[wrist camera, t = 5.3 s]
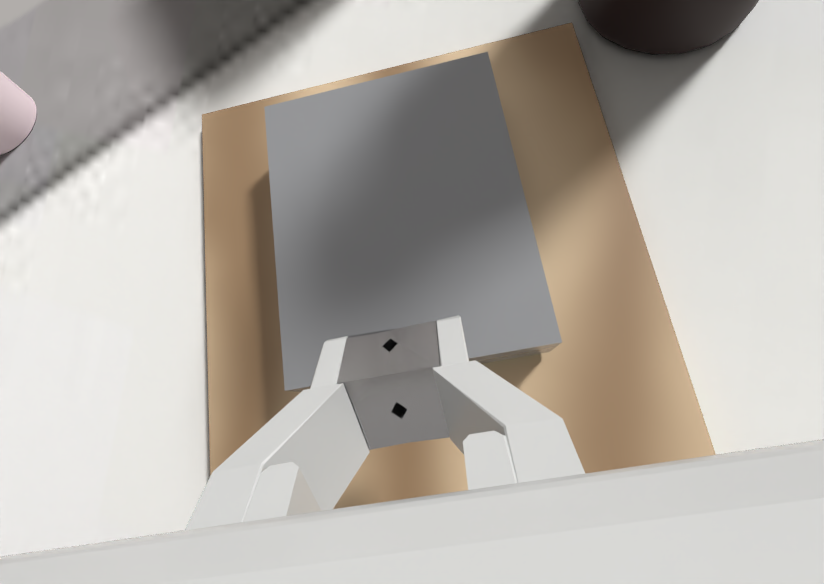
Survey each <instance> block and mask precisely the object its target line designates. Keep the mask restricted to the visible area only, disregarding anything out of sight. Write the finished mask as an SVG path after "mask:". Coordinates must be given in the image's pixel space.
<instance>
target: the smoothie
mask: <svg viewBox="0 0 824 584" xmlns="http://www.w3.org/2000/svg"><path fill="white" fill-rule="evenodd" d="M36 114H37V110H36V105H35V102H34V100H33V99H32V98H31V97H30V96H29V95H28V94H27V93H26V92H24V91H23V90H22V89H21V88H20V87H19V86H17V85H16V84H15V83H14V82H13V81H11V80H10V79H9V78H8V77H7V76H6V75H4V74H3V73H2V72H1V71H0V155H2V154H5V153H7V152H9V151H11V150H12V149H14V148H15V147H17V146H18V145H19V144H20V143H21V142H23V140H24V139H25V138H26V137H27V136H28V134H29V133H30V131H31V130H32V128H33V126H34V123H35V120H36Z"/></svg>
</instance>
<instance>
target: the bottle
mask: <svg viewBox="0 0 824 584" xmlns="http://www.w3.org/2000/svg"><path fill="white" fill-rule="evenodd" d="M758 1H759V0H579V4H580V6H581V8H582V10H583V13H584V15H585V17H586V19H587V21H588V22H589V23H590V24H591V25H592V26H593V27H594V28H595V29H596V30H597V31H598V32H599V33H600V34H601V35H602V36H603V37H605V38H607V39H609V40H610V41H612V42H614V43H616V44H618V45H620V46H622V47H624V48H626V49H631V50H636V51H640V52H645V53H650V54H672V53H684V52H688V51H691V50H695V49H698V48H702V47H705V46H709V45H711V44H713V43H714V42H716V41H717V40H719V39H721V38H722V37H724V36H726V35H727V34H729V33H730V32H732V31H733V30H735V29H736V28H737V27H738V26H739V25H740V24H741V22H742V21H743V20H744V19H745V18H746V16H747V15H748V14H749V13H750V12H751V10H752V9H753V8H754V7H755V5H756V4H757V2H758Z"/></svg>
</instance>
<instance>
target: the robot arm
mask: <svg viewBox="0 0 824 584" xmlns="http://www.w3.org/2000/svg"><path fill="white" fill-rule="evenodd" d="M449 437H450V439H451V441H452V442H453V443H454V444H455V445H456V446H457V448H458V449H459V450H460V451H461V452H462V453H463V454H464V457H465V466H466V475H467V483H468V490H464V491H457V492H450V493H443V494H436V495H429V496H422V497H415V498H408V499H401V500H394V501H387V502H380V503H373V504H366V505H359V506H352V507H345V508H338V509H333V508H334V507H335V505H336V504H337V502H338V500H339V499H340V497H341V496H342V494H343V493H344V491H345V490H346V488H347V487H348V485H349V484H350V482H351V480H352V479H353V477H354V476H355V474H356V473H357V471H358V470H359V468H360V467H361V465H362V463H363V462H364V460H365V459H366V457H367V456H368V454H369V453H370V451H369V450H372V449H377V448H383V447H388V446H393V445H399V444H404V443H409V442H418V441H426V440H433V439H441V438H449ZM0 584H824V439H822V440H815V441H808V442H801V443H794V444H787V445H780V446H773V447H766V448H759V449H752V450H745V451H738V452H731V453H724V454H717V455H710V456H703V457H696V458H689V459H682V460H675V461H668V462H661V463H655V464H648V465H641V466H634V467H627V468H620V469H613V470H606V471H600V472H593V473H586V474H585V471H584V469H583V467H582V464H581V462H580V459H579V457H578V455H577V452H576V450H575V447H574V445H573V442H572V440H571V438H570V435H569V433H568V430H567V428H566V426H565V423H564V421H563V418H561V417H560V416H558V415H557V414H555V413H554V412H552V411H551V410H549V409H548V408H546V407H545V406H543V405H542V404H540V403H539V402H537V401H536V400H534V399H533V398H531V397H530V396H528V395H527V394H525V393H524V392H522V391H521V390H519V389H518V388H516V387H515V386H513V385H512V384H510V383H509V382H507V381H506V380H504V379H503V378H501V377H500V376H499V375H497V374H496V373H494V372H493V371H491V370H490V369H488V368H487V367H485V366H484V365H482V364H481V363H479V362H478V361H476V360H474V361H469V358H468V353H467V348H466V342H465V337H464V332H463V327H462V322H461V317H460V316H459V315H458V316H453V317H449V318H444V319H440V320H437V321H431V322H426V323H422V324H417V325H412V326H407V327H403V328H398V329H389V330H382V331H376V332H370V333H364V334H358V335H352V336H349V337H348V336H345V337H340V338H335V339H330V340H327V341H325V342H324V344H323V347H322V350H321V354H320V357H319V360H318V364H317V367H316V370H315V374H314V377H313V380H312V384H311V387H310V389H306V390H303V391H302V392H301V393H299V394H298V395H297V396H296V397H295V398H294V399H293V400H292V401H291V402H290V403H288V404H287V405H286V406H285V407H284V408H283V409H282V410H281V411H280V412H278V413H277V414H276V415H275V416H274V417H273V418H272V419H271V420H270V421H268V422H267V423H266V424H265V425H264V426H263V427H262V428H261V429H260V430H258V431H257V432H256V433H255V434H254V435H253V436H252V437H251V438H250V439H249V440H247V441H246V442H245V443H244V444H243V445H242V446H241V447H240V448H239V449H237V450H236V451H235V452H234V453H233V454H232V455H231V456H230V457H229V458H227V459H226V460H225V461H224V462H223V463H222V464H221V465H220V466H219V467H217V468H216V469H215V470H214V471H213V472H212V474H211V476H210V478H209V480H208V482H207V484H206V486H205V488H204V491H203V493H202V495H201V497H200V499H199V501H198V503H197V505H196V507H195V510H194V512H193V514H192V516H191V518H190V520H189V522H188V524H187V526H186V529H185V530H184V531H177V532H170V533H163V534H156V535H149V536H142V537H135V538H128V539H121V540H114V541H107V542H100V543H93V544H86V545H79V546H72V547H65V548H58V549H51V550H44V551H37V552H30V553H23V554H16V555H8V556H1V557H0Z"/></svg>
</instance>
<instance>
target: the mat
mask: <svg viewBox="0 0 824 584" xmlns="http://www.w3.org/2000/svg"><path fill="white" fill-rule="evenodd" d="M484 52H488V55H489V59H490V63H491V67H492V70H493V74H494V78H495V82H496V86H497V90H498V94H499V98H500V102H501V106H502V109H503V113H504V117H505V121H506V125H507V129H508V133H509V137H510V141H511V145H512V148H513V152H514V156H515V160H516V164H517V168H518V172H519V176H520V180H521V183H522V187H523V191H524V195H525V199H526V203H527V207H528V211H529V215H530V219H531V222H532V226H533V230H534V234H535V238H536V242H537V246H538V250H539V254H540V258H541V261H542V265H543V269H544V273H545V277H546V281H547V285H548V289H549V293H550V297H551V300H552V304H553V308H554V312H555V316H556V320H557V324H558V328H559V332H560V336H561V339H562V343H561V344H559V345H558V346H557V347H555V348H554V349H553V350H552V351H550V352H547V353H541V354H535V355H530V356H524V357H518V358H512V359H507V360H501V361H495V362H489V363H483V364H482V365H484V366H485V367H487V368H488V369H490V370H491V371H493V372H494V373H496V374H497V375H499V376H500V377H501V378H503V379H504V380H506V381H507V382H509V383H510V384H512V385H513V386H515V387H516V388H518V389H519V390H521V391H522V392H524V393H525V394H527V395H528V396H530V397H531V398H533V399H534V400H536V401H537V402H539V403H540V404H542V405H543V406H545V407H546V408H548V409H549V410H551V411H552V412H554V413H555V414H557V415H558V416H560V417H561V418H563V421H564V423H565V426H566V428H567V430H568V433H569V435H570V438H571V440H572V442H573V445H574V447H575V450H576V452H577V455H578V457H579V459H580V462H581V464H582V467H583V469H584V471H585V474H586V473H593V472H600V471H606V470H613V469H620V468H627V467H634V466H641V465H648V464H655V463H661V462H668V461H675V460H682V459H689V458H696V457H703V456H710V455H716V454H715V451H714V448H713V445H712V442H711V439H710V436H709V433H708V430H707V427H706V424H705V421H704V418H703V415H702V412H701V409H700V406H699V403H698V400H697V397H696V394H695V391H694V388H693V385H692V382H691V379H690V376H689V373H688V370H687V367H686V364H685V361H684V358H683V355H682V352H681V349H680V346H679V343H678V340H677V337H676V334H675V331H674V328H673V325H672V322H671V319H670V316H669V313H668V310H667V307H666V304H665V301H664V298H663V295H662V292H661V289H660V286H659V283H658V280H657V277H656V274H655V271H654V268H653V265H652V262H651V259H650V256H649V253H648V250H647V247H646V244H645V241H644V238H643V235H642V232H641V229H640V226H639V223H638V220H637V217H636V214H635V211H634V208H633V205H632V202H631V199H630V196H629V193H628V190H627V187H626V184H625V181H624V178H623V175H622V172H621V169H620V166H619V163H618V160H617V157H616V154H615V151H614V148H613V145H612V142H611V139H610V136H609V133H608V130H607V127H606V124H605V121H604V118H603V115H602V112H601V108H600V105H599V102H598V99H597V96H596V93H595V90H594V87H593V84H592V81H591V78H590V75H589V72H588V69H587V66H586V63H585V60H584V57H583V54H582V51H581V48H580V45H579V42H578V39H577V36H576V33H575V30H574V27H573V24H572V23H568V24H564V25H560V26H556V27H552V28H548V29H544V30H540V31H536V32H532V33H528V34H524V35H520V36H516V37H512V38H508V39H504V40H500V41H496V42H492V43H488V44H484V45H480V46H476V47H472V48H468V49H464V50H460V51H456V52H452V53H448V54H444V55H440V56H435V57H431V58H427V59H423V60H419V61H415V62H411V63H407V64H403V65H399V66H395V67H391V68H387V69H383V70H379V71H375V72H371V73H367V74H363V75H359V76H355V77H351V78H347V79H343V80H339V81H335V82H331V83H327V84H323V85H319V86H315V87H311V88H307V89H303V90H299V91H295V92H291V93H287V94H283V95H279V96H275V97H271V98H267V99H263V100H259V101H255V102H251V103H247V104H243V105H239V106H235V107H231V108H227V109H223V110H219V111H215V112H211V113H207V114H203V115H202V139H203V182H204V225H205V269H206V312H207V355H208V399H209V442H210V476H211V474H212V472H213V471H214V470H215V469H216V468H217V467H219V466H220V465H221V464H222V463H223V462H224V461H225V460H226V459H227V458H229V457H230V456H231V455H232V454H233V453H234V452H235V451H236V450H237V449H239V448H240V447H241V446H242V445H243V444H244V443H245V442H246V441H247V440H249V439H250V438H251V437H252V436H253V435H254V434H255V433H256V432H257V431H258V430H260V429H261V428H262V427H263V426H264V425H265V424H266V423H267V422H268V421H270V420H271V419H272V418H273V417H274V416H275V415H276V414H277V413H278V412H280V411H281V410H282V409H283V408H284V407H285V406H286V405H287V404H288V403H290V402H291V401H292V400H293V399H294V398H295V397H296V396H297V395H298V394H299V393H301V392H293V391H285V388H284V374H283V360H282V346H281V332H280V318H279V304H278V290H277V276H276V262H275V248H274V235H273V221H272V207H271V193H270V179H269V165H268V151H267V137H266V123H265V109H264V107H265V106H269V105H273V104H278V103H282V102H286V101H290V100H294V99H298V98H302V97H306V96H310V95H314V94H318V93H322V92H326V91H330V90H334V89H338V88H342V87H346V86H350V85H354V84H358V83H363V82H367V81H371V80H375V79H379V78H383V77H387V76H391V75H395V74H399V73H403V72H407V71H411V70H415V69H419V68H423V67H427V66H431V65H435V64H439V63H443V62H447V61H452V60H456V59H460V58H464V57H468V56H472V55H476V54H480V53H484ZM369 451H370V453H369V454H368V456H367V457H366V459H365V460H364V462H363V463H362V465H361V467H360V468H359V470H358V471H357V473H356V474H355V476H354V477H353V479H352V480H351V482H350V484H349V485H348V487H347V488H346V490H345V491H344V493H343V494H342V496H341V497H340V499H339V500H338V502H337V504H336V505H335V507H334V508H333V509H338V508H345V507H352V506H359V505H366V504H373V503H380V502H387V501H394V500H401V499H408V498H415V497H422V496H429V495H436V494H443V493H450V492H457V491H464V490H468V483H467V475H466V466H465V457H464V454H463V453H462V452H461V451H460V450H459V449H458V448H457V446H456V445H455V444H454V443H453V442H452V441H451V439H450V437H449V438H441V439H433V440H426V441H418V442H409V443H404V444H399V445H393V446H388V447H383V448H377V449H372V450H369Z"/></svg>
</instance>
